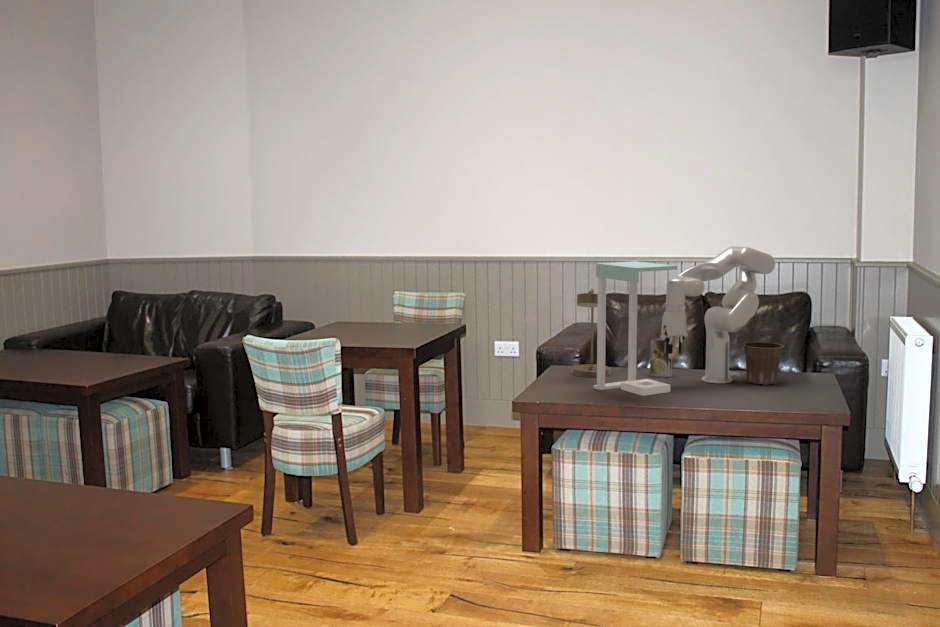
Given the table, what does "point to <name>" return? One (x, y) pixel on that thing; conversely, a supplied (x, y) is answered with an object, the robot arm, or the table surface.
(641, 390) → the socket
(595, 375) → the lamp
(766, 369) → the plant pot
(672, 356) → the dowel
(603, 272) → the green-topped side table
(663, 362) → the coffee box
